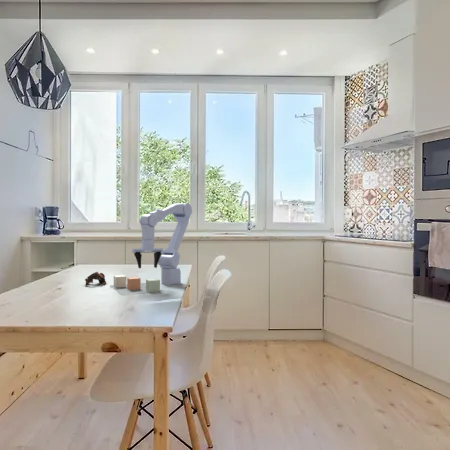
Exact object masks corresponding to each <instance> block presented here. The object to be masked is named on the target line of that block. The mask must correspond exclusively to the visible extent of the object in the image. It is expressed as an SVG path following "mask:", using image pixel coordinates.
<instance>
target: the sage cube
mask: <svg viewBox="0 0 450 450" xmlns="http://www.w3.org/2000/svg"><path fill="white" fill-rule="evenodd" d="M145 283H146V290H147V291H148V292H154V293H158V292H157V291H160V289H161V280H160V279H159V278H149V279H148V278H147V279H145Z"/></svg>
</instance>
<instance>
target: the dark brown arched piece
mask: <svg viewBox="0 0 450 450" xmlns="http://www.w3.org/2000/svg"><path fill="white" fill-rule="evenodd" d="M105 277H106V276H105V274H104V273H102V272H100V273H99V271H95V272H93V273H91V274H90V275H89V276H87V277H86V278H85V279H84V281H85V285H87V286H88V285H90V284H91V283H92V284H93V283H94V280H97V281H98V283H99V284H102V285H103V286H105V285H107V281H106V278H105Z"/></svg>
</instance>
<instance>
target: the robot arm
mask: <svg viewBox="0 0 450 450" xmlns="http://www.w3.org/2000/svg"><path fill="white" fill-rule="evenodd" d="M192 214H193V209H192V205H191V203H189V202H185V203H184V202H183V203H181V202H180V203H179V202H178V203H176V202H174V203H173V204H170V205H169V206H166V208H163V209H162V208H155V210H154V211H150V212H148V214H143V215H141V216H140V219H139V224H140V228H141V248H132V251H131V253H133V255H134V257H135V259H136V262H137V268H138V269H141V268H142V257H143V256H142V254H143V253H144V254H149V253H152V254H153V261H154V262H153V268H155V269H157V267H158V265H159V267H160V268H161V269H160V271H161V275H160V276H161V280H160V285H166V286H167V285H177V284H181V282H182V281H181V280H182V276H181V274H182V273H181V269H180V267H178V266H179V265H180V258H181V254H180V253H179V248H180V245H181V243H182V241H183V238H184V236H185V234H186V232H187V231H186V230H187V227H188V225H189V222H190V218H191V215H192ZM169 215H173V217H174V219H175V221H176V222H177V223H176V225H175V229H174V231H173V233H172V235H171V238H170V241H169V244H168V246H167V248H165V249H164V248H158V247H157V248H155V227H156V226H157V224H158V223H160V222H162V221H164V220H165V219H166V217H167V216H169Z"/></svg>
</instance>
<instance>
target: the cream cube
mask: <svg viewBox="0 0 450 450" xmlns="http://www.w3.org/2000/svg"><path fill="white" fill-rule="evenodd" d="M126 284H127V275H126V274H121V275H120V274H119V275H118V274H117V275H113V285H114V286H115V287H116V288H117V287H126Z"/></svg>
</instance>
